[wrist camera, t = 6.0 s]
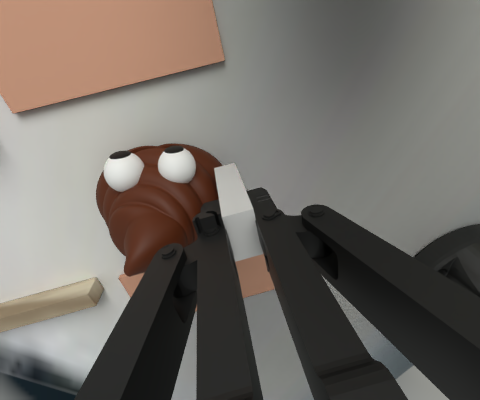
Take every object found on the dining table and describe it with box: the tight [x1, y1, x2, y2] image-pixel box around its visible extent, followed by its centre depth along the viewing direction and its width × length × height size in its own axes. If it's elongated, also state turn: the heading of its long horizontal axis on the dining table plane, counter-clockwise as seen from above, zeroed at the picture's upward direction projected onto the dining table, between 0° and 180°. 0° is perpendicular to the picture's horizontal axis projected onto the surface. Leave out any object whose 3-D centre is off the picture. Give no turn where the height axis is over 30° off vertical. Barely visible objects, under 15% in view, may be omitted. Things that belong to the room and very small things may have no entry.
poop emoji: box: [96, 144, 223, 277], centre depth 16 cm, size 10×8×9 cm
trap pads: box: [0, 0, 274, 311], centre depth 20 cm, size 29×14×1 cm, turn 12°
